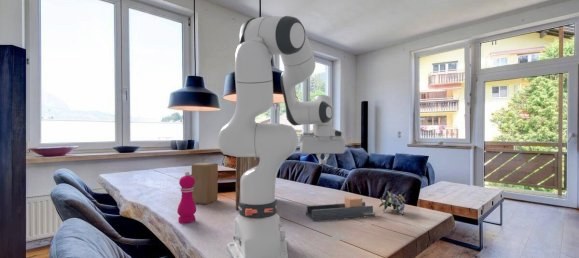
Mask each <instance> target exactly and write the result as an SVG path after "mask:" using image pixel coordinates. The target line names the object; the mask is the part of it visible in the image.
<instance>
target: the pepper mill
mask: <svg viewBox="0 0 579 258" xmlns="http://www.w3.org/2000/svg"><path fill="white" fill-rule="evenodd" d="M178 183H179V186H180V192H181V198H180V202H179V204H178V206H177V215H179V217H178V223H179V224H190V223H194V222H195V221H196V216H195V214H196V213H197V206H196V203H194V200H193V196H192V192H193V191H194V190H193V188H194V187H193V185H194V184H195V179H194V177H192V176H191V175H190V172H189V171H186V172H184V175H183V176H181V177H180V179H179V181H178Z"/></svg>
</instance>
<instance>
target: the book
mask: <svg viewBox="0 0 579 258" xmlns="http://www.w3.org/2000/svg"><path fill="white" fill-rule="evenodd" d="M259 162H260V158H258V157H235V211H237V210H239V208H238V206H239V201H240V180H241V177H242V175H243V174H244V173H245V172H246V171H248V170H249V169H251V168H253V167H256V166H257V165H258V164H259Z"/></svg>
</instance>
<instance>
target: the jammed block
mask: <svg viewBox="0 0 579 258" xmlns="http://www.w3.org/2000/svg"><path fill="white" fill-rule="evenodd" d="M362 202H363V198H361V197H359V196H357V195H356V196H355V195H354V196H353V195H352V196H344V203H345V208H347V207H360V206H362Z"/></svg>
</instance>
